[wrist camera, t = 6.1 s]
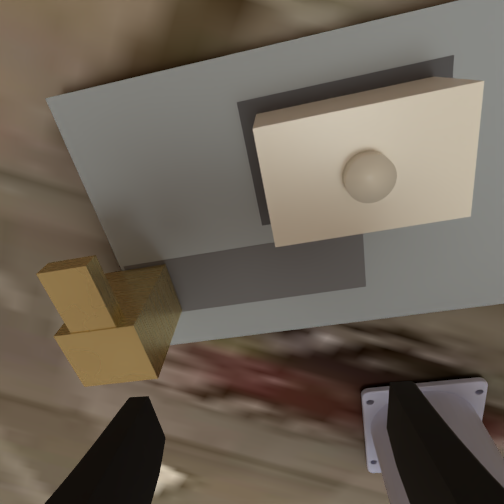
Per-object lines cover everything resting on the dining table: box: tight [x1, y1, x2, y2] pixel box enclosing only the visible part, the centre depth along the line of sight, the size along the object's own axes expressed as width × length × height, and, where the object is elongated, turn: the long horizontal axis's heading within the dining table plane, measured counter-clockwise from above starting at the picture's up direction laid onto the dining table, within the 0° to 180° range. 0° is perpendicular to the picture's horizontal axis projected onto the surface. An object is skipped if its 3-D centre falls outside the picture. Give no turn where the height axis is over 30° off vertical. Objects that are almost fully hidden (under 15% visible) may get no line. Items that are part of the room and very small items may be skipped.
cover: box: [252, 77, 484, 247], centre depth 13 cm, size 4×7×4 cm, turn 102°
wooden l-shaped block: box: [37, 255, 182, 387], centre depth 16 cm, size 6×4×5 cm, turn 11°
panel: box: [45, 0, 504, 345], centre depth 17 cm, size 14×20×2 cm
